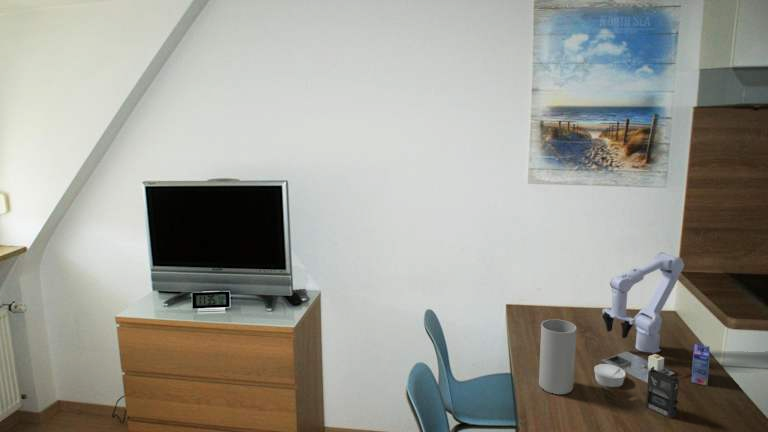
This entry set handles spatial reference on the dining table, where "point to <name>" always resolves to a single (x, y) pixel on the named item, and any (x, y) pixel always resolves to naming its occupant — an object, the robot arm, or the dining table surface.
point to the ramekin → (609, 375)
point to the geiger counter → (662, 393)
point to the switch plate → (633, 365)
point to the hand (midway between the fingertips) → (616, 334)
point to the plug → (656, 362)
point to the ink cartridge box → (700, 364)
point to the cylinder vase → (557, 356)
